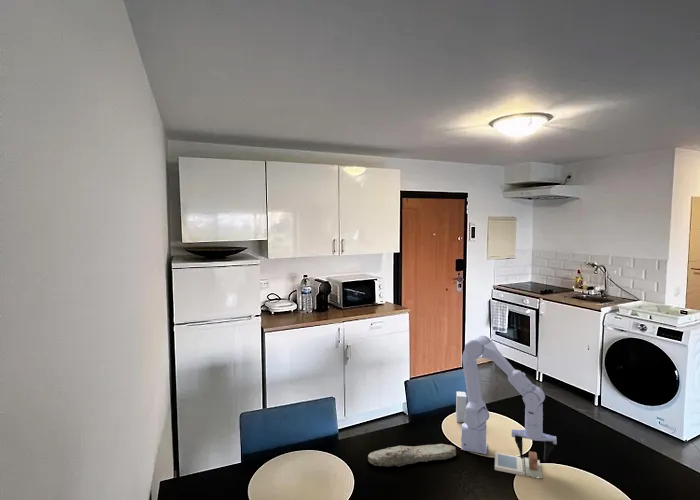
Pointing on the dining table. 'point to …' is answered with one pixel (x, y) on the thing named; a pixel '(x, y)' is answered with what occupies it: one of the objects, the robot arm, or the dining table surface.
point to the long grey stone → (411, 454)
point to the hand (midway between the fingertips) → (533, 459)
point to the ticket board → (509, 463)
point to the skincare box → (461, 406)
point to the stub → (533, 465)
